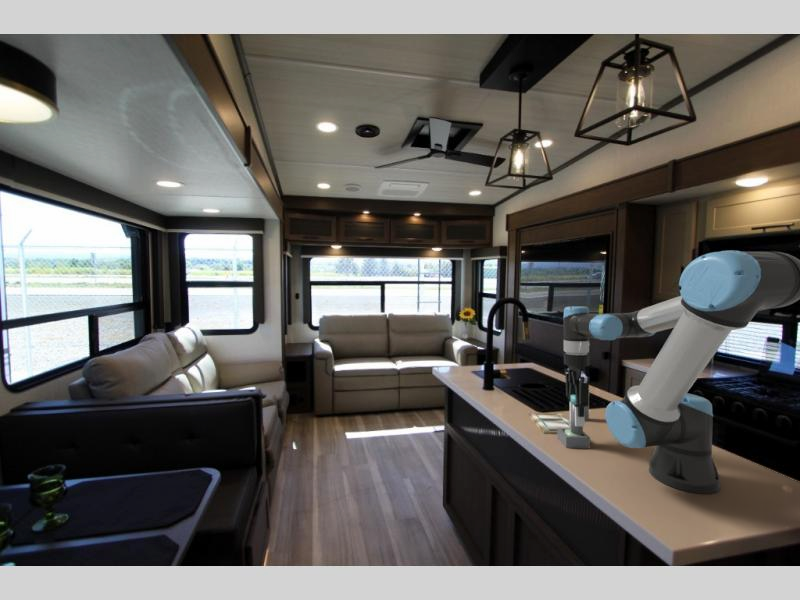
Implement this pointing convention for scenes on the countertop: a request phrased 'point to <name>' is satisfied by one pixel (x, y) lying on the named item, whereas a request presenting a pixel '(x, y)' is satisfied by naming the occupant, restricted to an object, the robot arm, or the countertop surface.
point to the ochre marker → (586, 412)
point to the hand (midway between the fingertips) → (576, 423)
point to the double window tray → (550, 422)
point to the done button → (569, 433)
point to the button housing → (573, 439)
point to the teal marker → (574, 428)
